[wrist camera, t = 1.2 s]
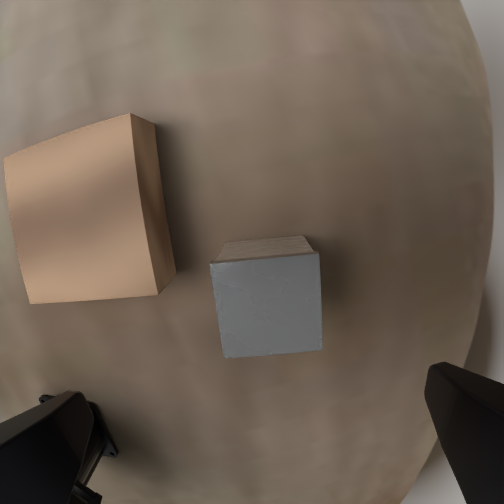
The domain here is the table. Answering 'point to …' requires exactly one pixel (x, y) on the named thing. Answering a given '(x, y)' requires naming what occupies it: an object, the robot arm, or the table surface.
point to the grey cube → (268, 297)
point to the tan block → (91, 213)
